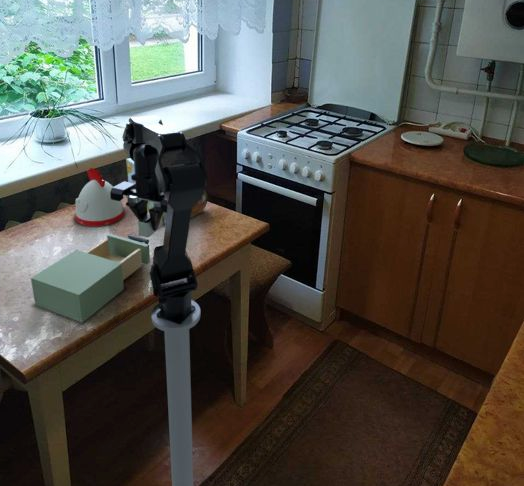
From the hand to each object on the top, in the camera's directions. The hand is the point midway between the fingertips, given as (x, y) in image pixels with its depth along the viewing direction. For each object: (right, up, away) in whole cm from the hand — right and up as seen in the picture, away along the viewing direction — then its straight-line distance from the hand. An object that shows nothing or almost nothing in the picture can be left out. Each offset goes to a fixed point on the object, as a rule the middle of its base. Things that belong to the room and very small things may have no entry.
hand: (150, 229), depth 120 cm
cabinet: (-15, -15, -7) cm, 22 cm away
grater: (0, -1, 0) cm, 1 cm away
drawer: (-9, -9, +5) cm, 14 cm away
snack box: (-8, +2, +35) cm, 36 cm away
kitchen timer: (-22, +1, +31) cm, 38 cm away
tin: (+4, 0, +33) cm, 33 cm away
